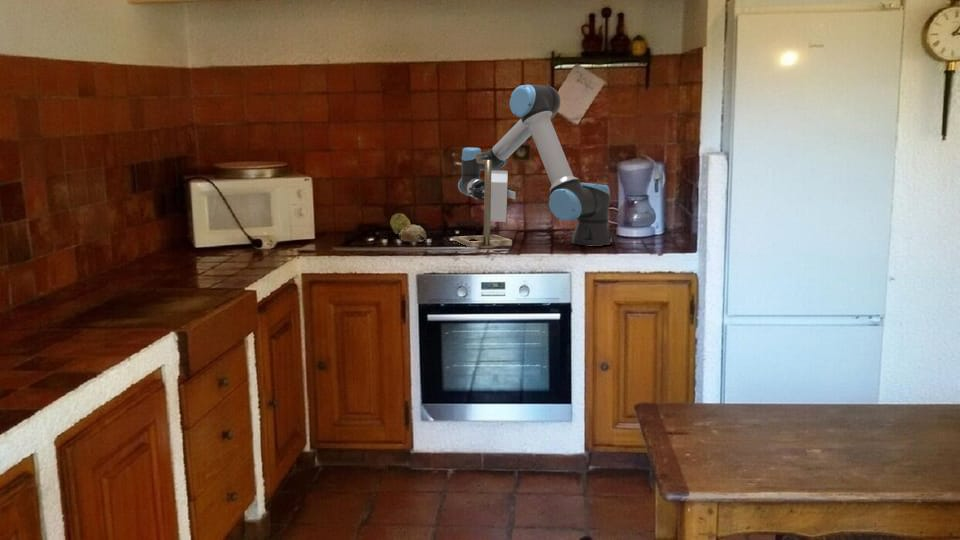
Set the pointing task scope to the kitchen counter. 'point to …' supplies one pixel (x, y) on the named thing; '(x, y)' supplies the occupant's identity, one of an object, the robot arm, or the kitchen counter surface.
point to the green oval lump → (399, 222)
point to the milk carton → (498, 195)
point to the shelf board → (494, 240)
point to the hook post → (486, 201)
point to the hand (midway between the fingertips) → (502, 195)
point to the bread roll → (412, 234)
